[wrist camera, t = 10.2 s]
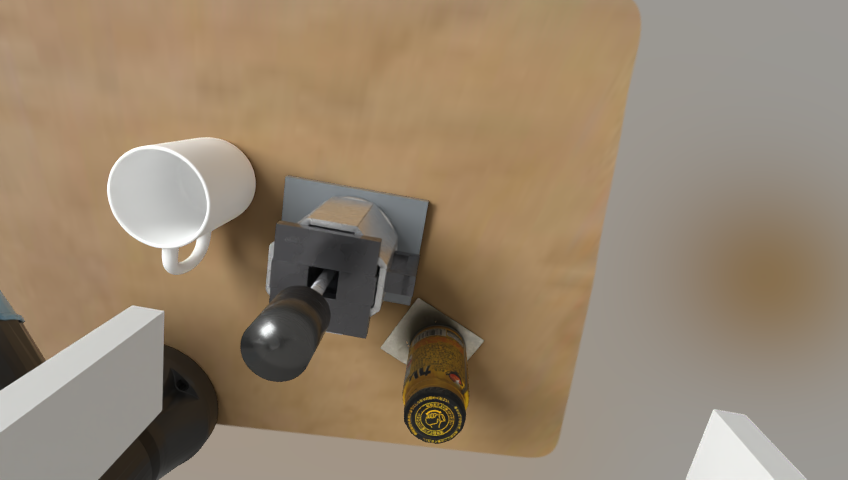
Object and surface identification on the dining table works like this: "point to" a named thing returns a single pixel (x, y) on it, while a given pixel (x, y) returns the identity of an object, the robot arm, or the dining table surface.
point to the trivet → (399, 209)
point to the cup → (180, 194)
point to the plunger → (289, 328)
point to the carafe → (343, 260)
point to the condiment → (433, 371)
